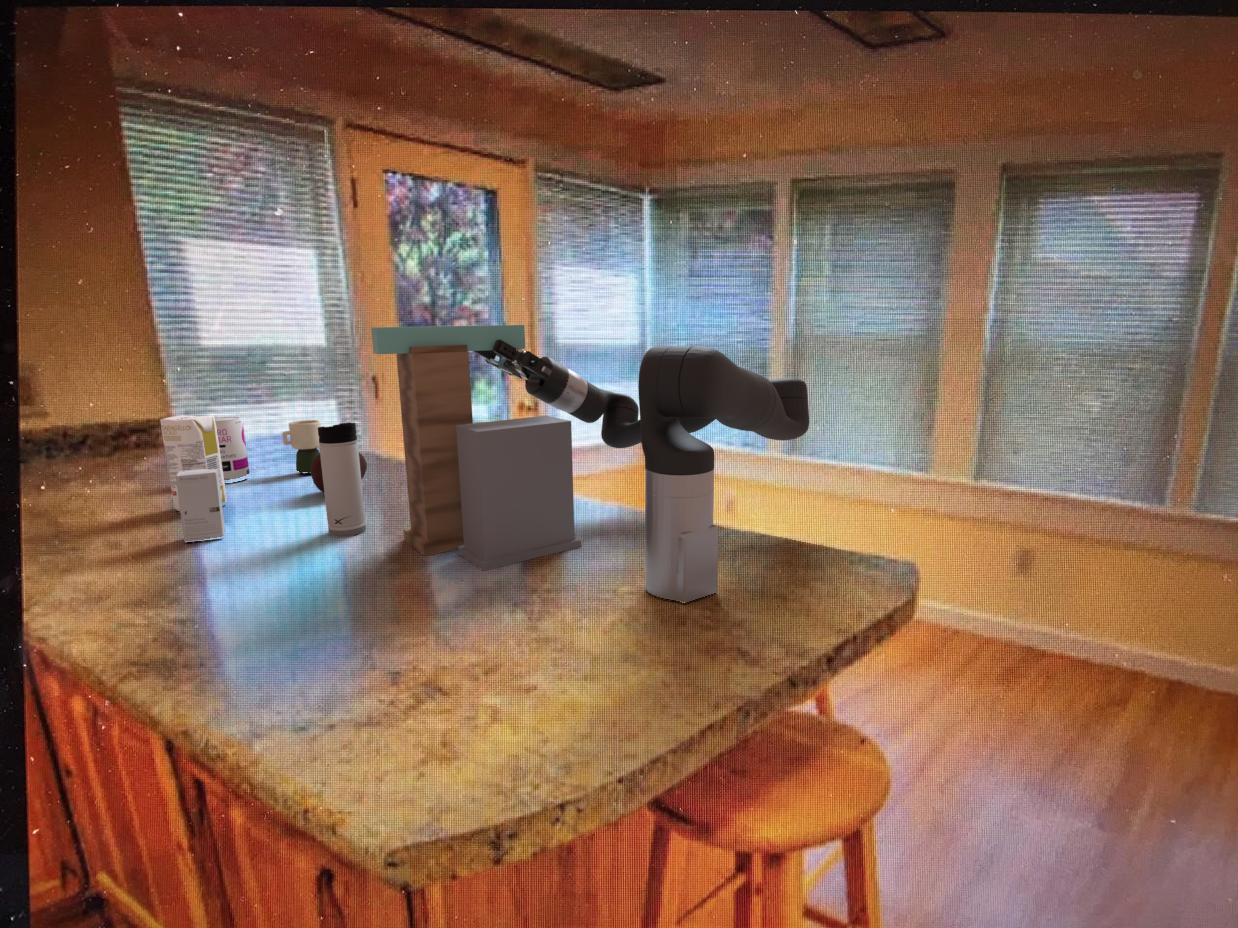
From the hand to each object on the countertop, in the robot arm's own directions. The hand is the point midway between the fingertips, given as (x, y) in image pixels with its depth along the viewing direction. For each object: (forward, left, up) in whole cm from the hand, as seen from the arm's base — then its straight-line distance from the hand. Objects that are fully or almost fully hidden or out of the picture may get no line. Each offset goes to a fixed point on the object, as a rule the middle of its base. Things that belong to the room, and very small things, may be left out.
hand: (483, 344), depth 113 cm
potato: (+46, +15, -33) cm, 58 cm away
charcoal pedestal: (-12, +1, -33) cm, 35 cm away
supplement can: (+76, +33, -33) cm, 89 cm away
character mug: (+72, +16, -33) cm, 81 cm away
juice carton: (+51, +41, -33) cm, 73 cm away
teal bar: (-1, +6, -1) cm, 6 cm away
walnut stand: (0, +9, -33) cm, 34 cm away
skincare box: (+28, +42, -33) cm, 60 cm away
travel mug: (+16, +21, -33) cm, 42 cm away
